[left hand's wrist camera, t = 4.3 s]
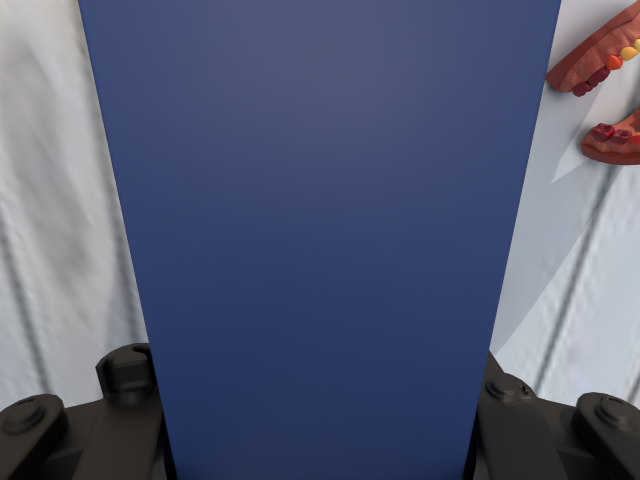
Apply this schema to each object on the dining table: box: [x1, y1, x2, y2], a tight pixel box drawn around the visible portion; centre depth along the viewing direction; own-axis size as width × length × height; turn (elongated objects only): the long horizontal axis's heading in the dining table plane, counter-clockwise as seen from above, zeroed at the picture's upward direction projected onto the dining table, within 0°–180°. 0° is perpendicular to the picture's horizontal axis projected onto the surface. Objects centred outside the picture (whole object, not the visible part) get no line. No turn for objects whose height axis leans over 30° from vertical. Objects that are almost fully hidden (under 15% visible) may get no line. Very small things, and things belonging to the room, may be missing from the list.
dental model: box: [545, 0, 640, 165], centre depth 19 cm, size 6×4×8 cm
